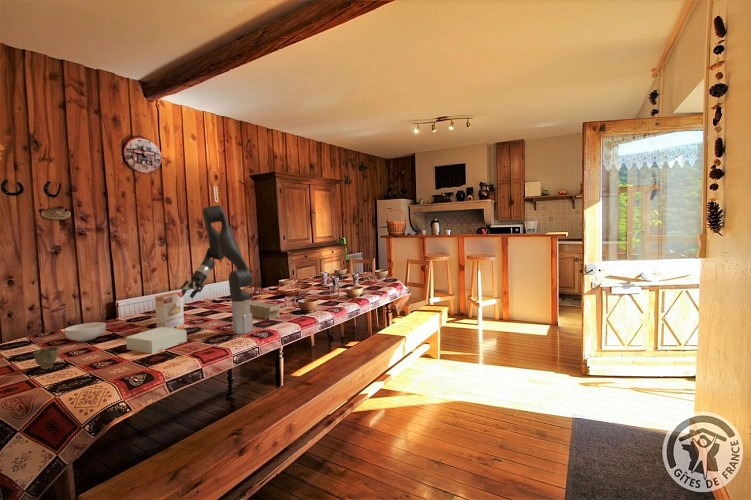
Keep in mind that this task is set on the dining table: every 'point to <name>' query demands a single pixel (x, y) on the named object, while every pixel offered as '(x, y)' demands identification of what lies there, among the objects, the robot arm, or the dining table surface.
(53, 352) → the cup
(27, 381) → the dining table surface
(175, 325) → the cracker box
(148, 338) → the pale square block
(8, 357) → the dining table surface
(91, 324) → the cereal bowl
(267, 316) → the block tower
